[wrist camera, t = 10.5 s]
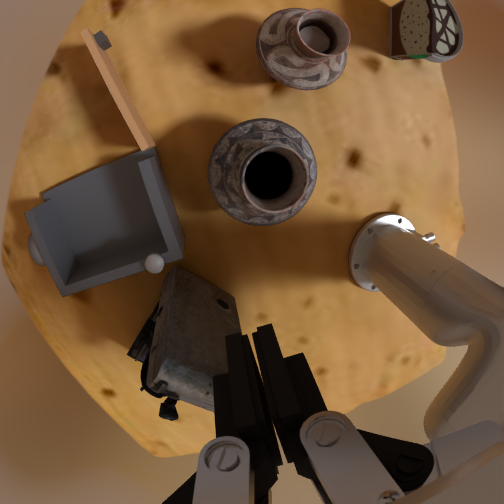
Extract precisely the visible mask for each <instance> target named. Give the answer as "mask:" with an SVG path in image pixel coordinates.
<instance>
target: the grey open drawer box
mask: <svg viewBox="0 0 504 504" xmlns="http://www.w3.org/2000/svg"><path fill="white" fill-rule="evenodd" d="M42 196H43V198H44V201H45V202H44V203H42V204H40V205H38V206H37V207H35V208H33V209H31V210H30V211H28V212H26V213H24V214H25V217H26V219H27V222H28V224H29V227H30V229H31V232H32V233H31V234H30V236H29V239H28V248H29V252H30V255H31V257H32V259H33V260H34V262H35V263H36V264H37V265H39V266H45V265H46V266H47V268H48V270H49V272H50V274H51V276H52V278H53V280H54V282H55V284H56V286H57V288H58V290H59V292H60V294H61V295H62V297H65V296H68V295H71V294H74V293H77V292H80V291H83V290H86V289H89V288H92V287H95V286H98V285H101V284H104V283H107V282H110V281H113V280H117V279H120V278H123V277H126V276H129V275H132V274H135V273H138V272H141V271H145V270H148V271H149V272H151V273H159V272H161V271H162V269H163V267H164V264H167V263H170V262H173V261H176V260H179V259H182V258H183V256H184V245H185V236H184V233H183V230H182V227H181V225H180V222H179V219H178V216H177V213H176V210H175V207H174V204H173V201H172V198H171V195H170V192H169V189H168V186H167V183H166V179H165V176H164V173H163V170H162V167H161V164H160V160H159V157H158V154H157V151H156V147H155V146H154V147H153V148H151V149H149V150H145V151H139V152H136V153H134V154H131V155H128V156H126V157H123V158H121V159H118V160H116V161H113V162H111V163H108V164H106V165H103V166H101V167H99V168H96V169H94V170H92V171H89V172H87V173H85V174H83V175H81V176H78V177H76V178H74V179H72V180H70V181H68V182H65V183H63V184H61V185H59V186H57V187H55V188H53V189H51V190H49V191H47V192H45V193H43V194H42Z"/></svg>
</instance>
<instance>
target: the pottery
mask: <svg viewBox="0 0 504 504" xmlns="http://www.w3.org/2000/svg"><path fill="white" fill-rule="evenodd" d="M350 40H351V35H350V31H349V28H348V26H347V24H346V23H345V22H344V20H343V19H342V18H341V17H340V16H338V15H337V14H335V13H333V12H331V11H329V10H326V9H311V10H307V9H301V8H289V9H283V10H280V11H277V12H275V13H273V14H272V15H270V16H269V17H268V18H267V19H266V20H265V21H264V22H263V23H262V25H261V26H260V29H259V31H258V34H257V39H256V50H257V54H258V58H259V61H260V63H261V65H262V66H263V68H264V69H265V71H266V72H267V73H268V74H269V75H270V76H271V77H273V78H274V79H275V80H276V81H278V82H279V83H281V84H283V85H286V86H289V87H291V88H295V89H299V90H316V89H320V88H323V87H326V86H328V85H330V84H332V83H333V82H334V81H336V80H337V79H338V78H339V77H340V76H341V74H342V72H343V71H344V68H345V65H346V61H347V48H348V46H349V44H350ZM316 179H317V164H316V159H315V156H314V153H313V150H312V148H311V146H310V144H309V142H308V141H307V140H306V138H305V137H304V136H303V135H302V134H301V133H300V132H299V131H298V130H296V129H295V128H294V127H292V126H290V125H288V124H286V123H284V122H282V121H279V120H275V119H267V118H259V119H252V120H247V121H244V122H242V123H239V124H237V125H235V126H234V127H232V128H231V129H230V130H228V131H227V132H226V133H225V134H224V135H223V136H222V137H221V138H220V140H219V141H218V142H217V144H216V146H215V147H214V149H213V152H212V154H211V157H210V160H209V166H208V180H209V186H210V189H211V192H212V194H213V197H214V199H215V200H216V202H217V204H218V205H219V206H220V207H221V209H222V210H223V211H224V212H226V213H227V214H228V215H230V216H231V217H233V218H234V219H236V220H238V221H240V222H243V223H246V224H249V225H256V226H269V225H275V224H278V223H281V222H284V221H286V220H288V219H290V218H291V217H293V216H294V215H296V214H297V213H298V212H299V211H300V210H301V209H302V208H303V207H304V205H305V204H306V203H307V201H308V200H309V198H310V196H311V194H312V192H313V190H314V187H315V183H316Z"/></svg>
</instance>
